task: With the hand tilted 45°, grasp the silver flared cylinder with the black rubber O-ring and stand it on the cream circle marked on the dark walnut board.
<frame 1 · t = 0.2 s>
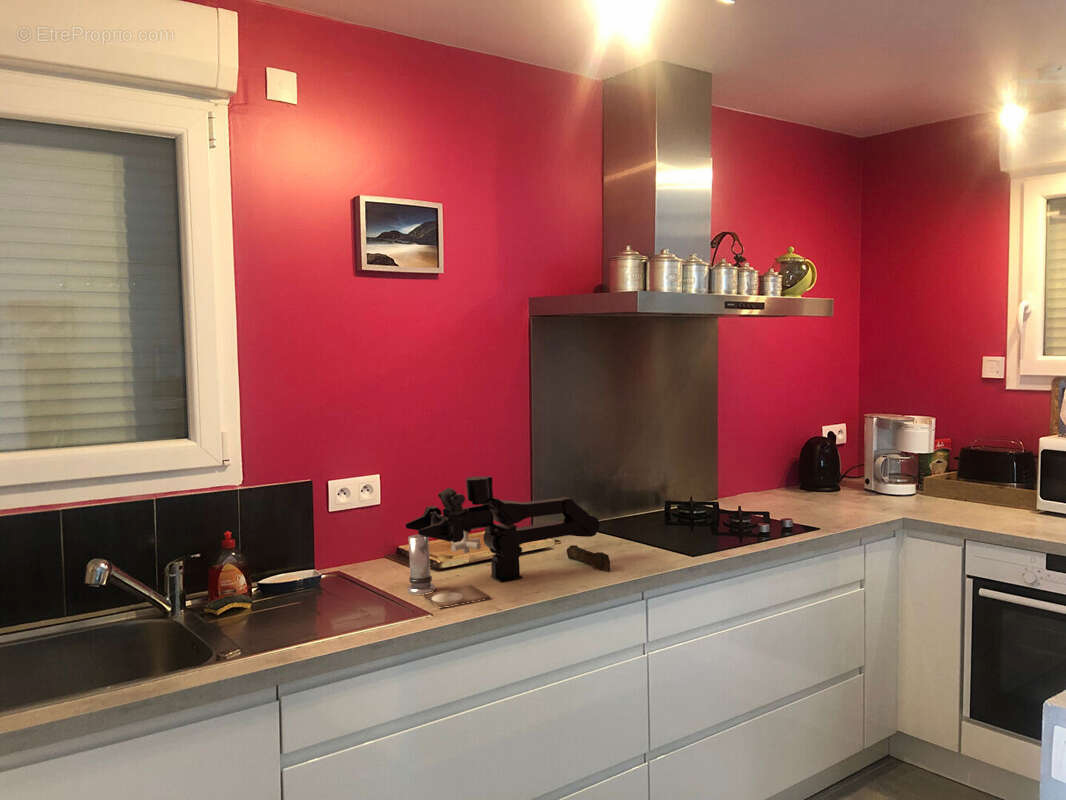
hand: (411, 529, 212), 17 cm above the worktop, tool horizontal, fingers open, 9 cm apart
silver flared cylinder: (421, 591, 216), on the worktop
hand tool: (591, 565, 235), on the worktop
walnut board: (456, 598, 209), on the worktop
pipe connector: (466, 562, 244), on the worktop
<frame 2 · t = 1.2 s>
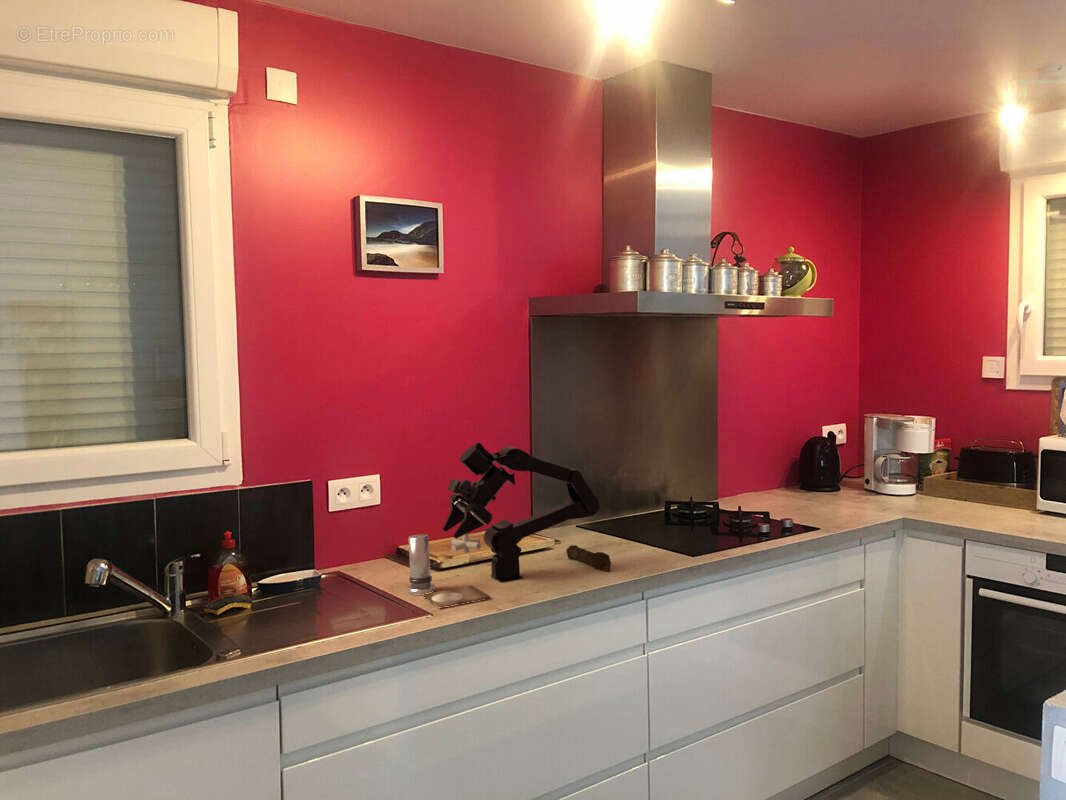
hand: (449, 533, 218), 14 cm above the worktop, tool tilted 45°, fingers open, 9 cm apart
nothing on the worktop moved.
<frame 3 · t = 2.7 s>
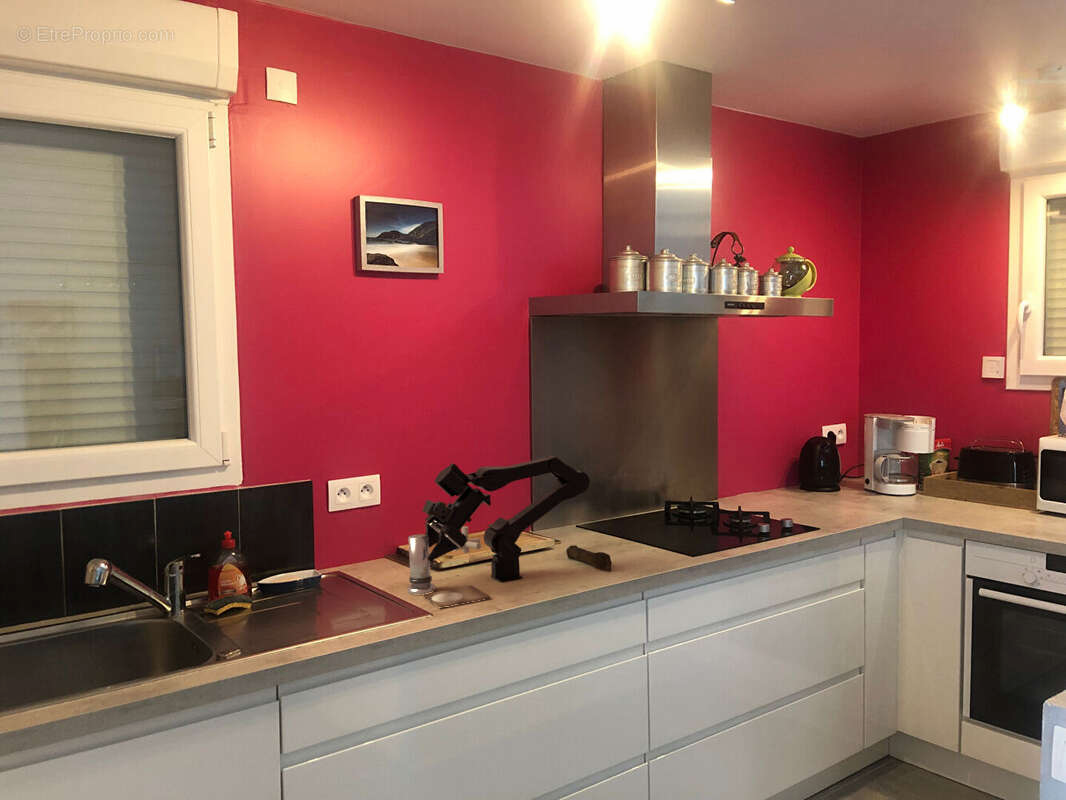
hand: (423, 556, 216), 9 cm above the worktop, tool tilted 45°, fingers open, 9 cm apart
nothing on the worktop moved.
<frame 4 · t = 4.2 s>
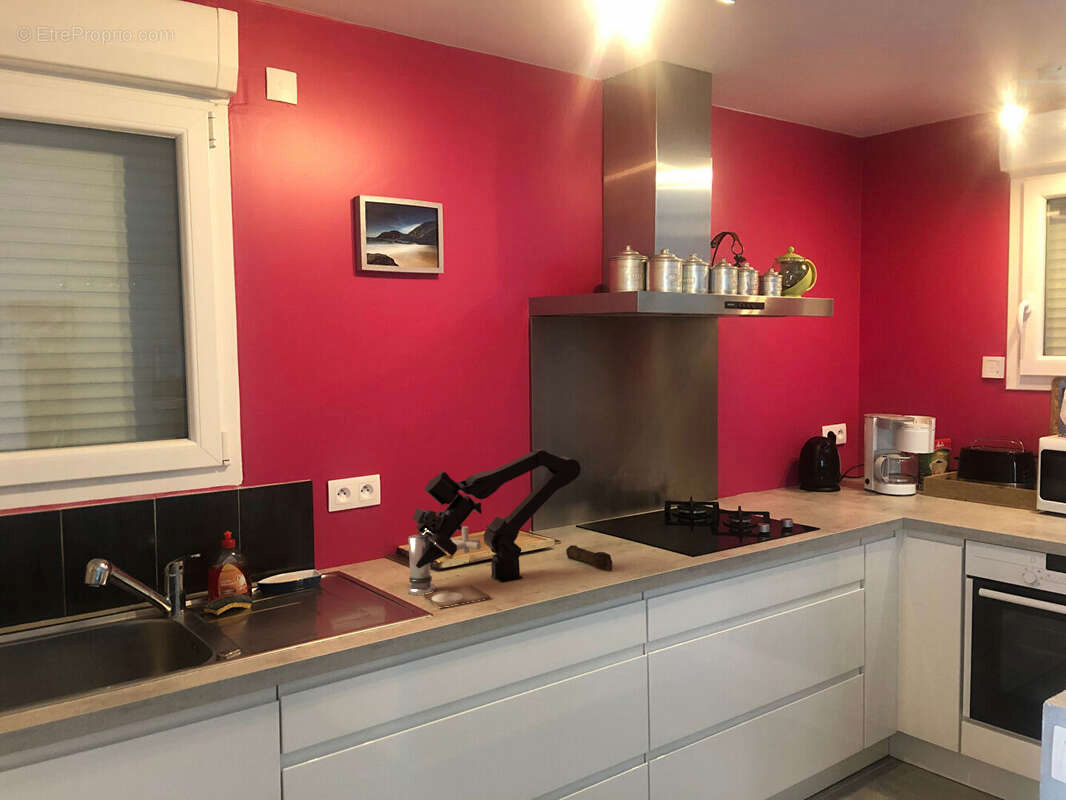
hand: (414, 564, 215), 7 cm above the worktop, tool tilted 45°, fingers closed on silver flared cylinder, 5 cm apart
silver flared cylinder: (421, 591, 216), on the worktop, touching gripper
everything else where it was.
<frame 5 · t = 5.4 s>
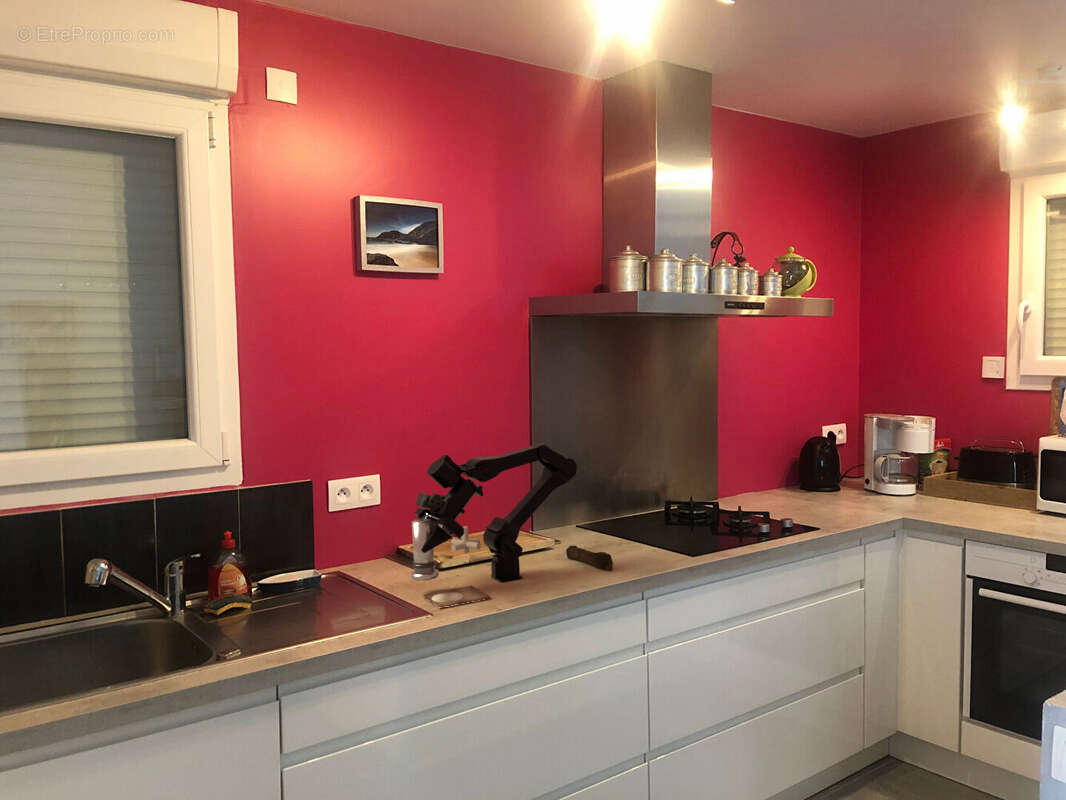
hand: (418, 549, 212), 11 cm above the worktop, tool tilted 45°, fingers closed on silver flared cylinder, 5 cm apart
silver flared cylinder: (425, 576, 213), point 4 cm above the worktop, touching gripper
everything else where it was.
when the fingers open (9 cm above the worktop, at t = 6.9 s): silver flared cylinder drops 1 cm, resting on walnut board.
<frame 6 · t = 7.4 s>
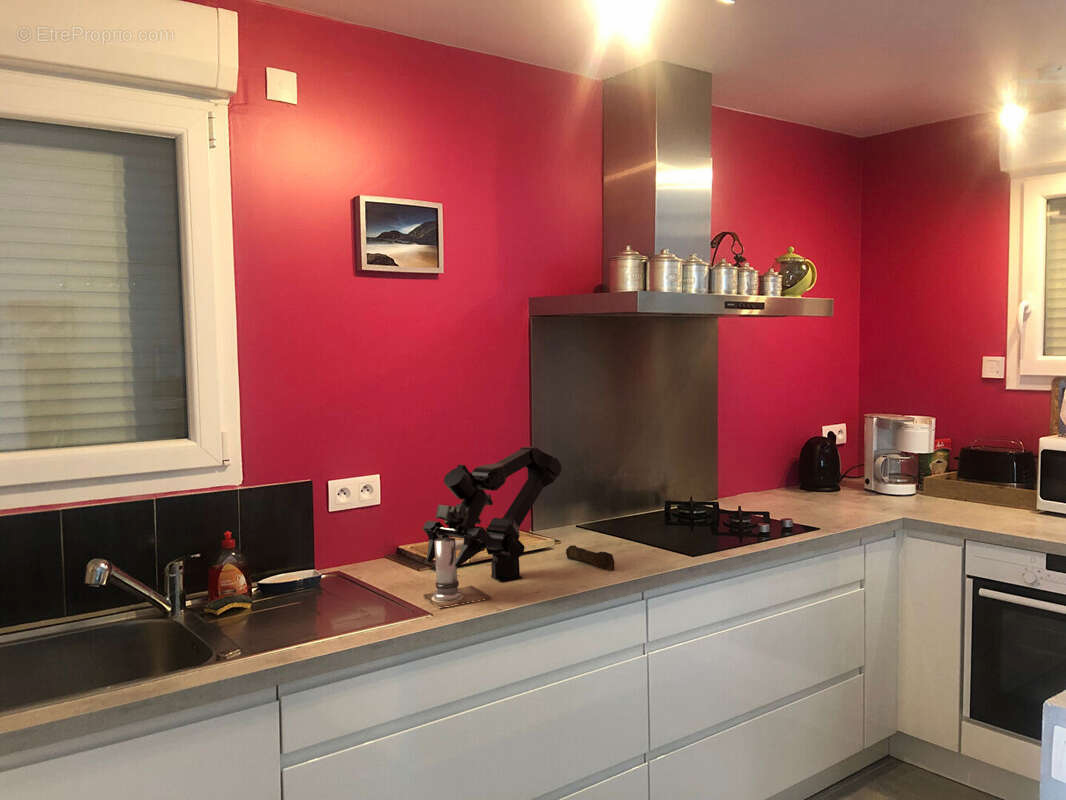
hand: (441, 564, 206), 9 cm above the worktop, tool tilted 45°, fingers open, 9 cm apart
silver flared cylinder: (447, 597, 207), point 1 cm above the worktop, touching walnut board
everything else where it was.
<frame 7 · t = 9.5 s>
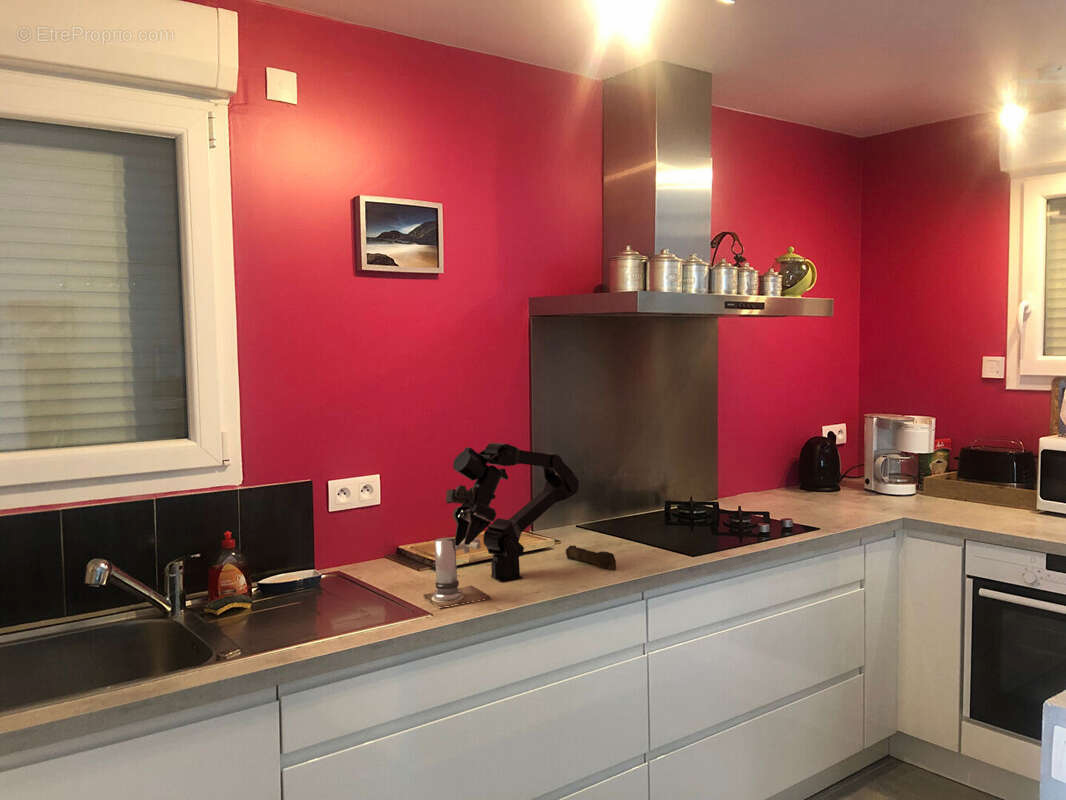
hand: (460, 544, 215), 12 cm above the worktop, tool tilted 35°, fingers open, 9 cm apart
nothing on the worktop moved.
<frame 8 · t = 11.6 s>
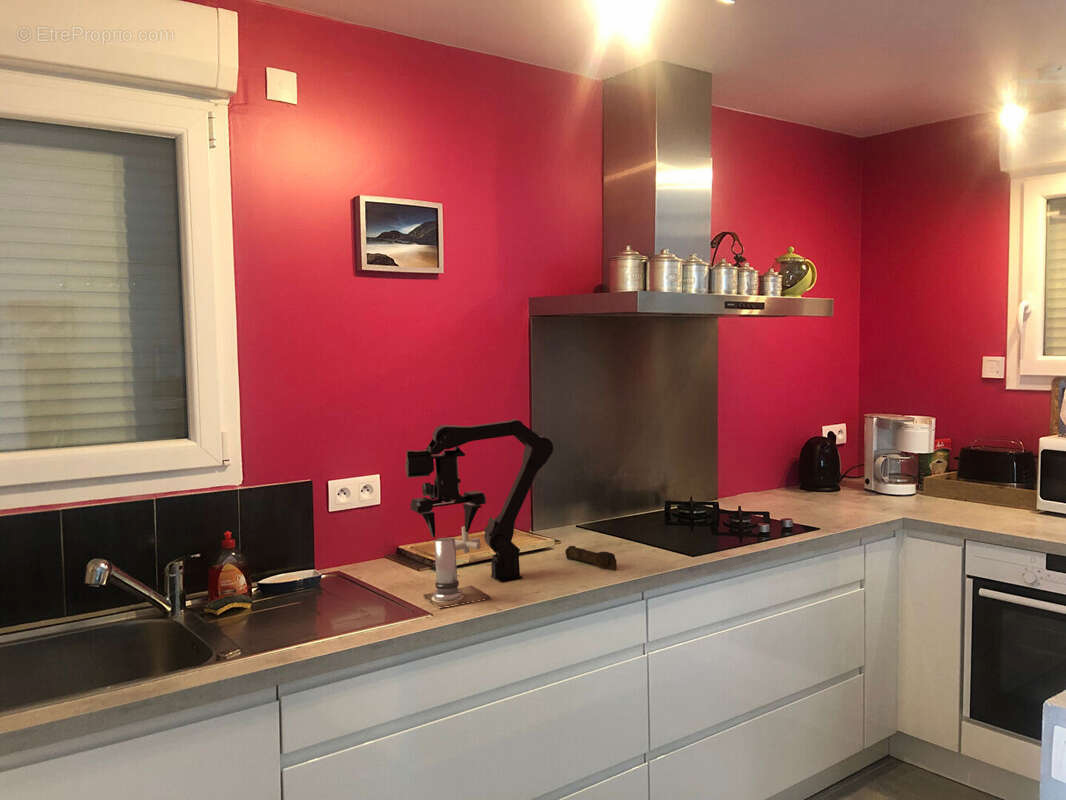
hand: (450, 534, 220), 13 cm above the worktop, tool pointing down, fingers open, 9 cm apart
at the end: silver flared cylinder 0.1 cm from the target spot, point 0.9 cm above the worktop; silver flared cylinder tilted 0°; the gripper is holding nothing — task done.
